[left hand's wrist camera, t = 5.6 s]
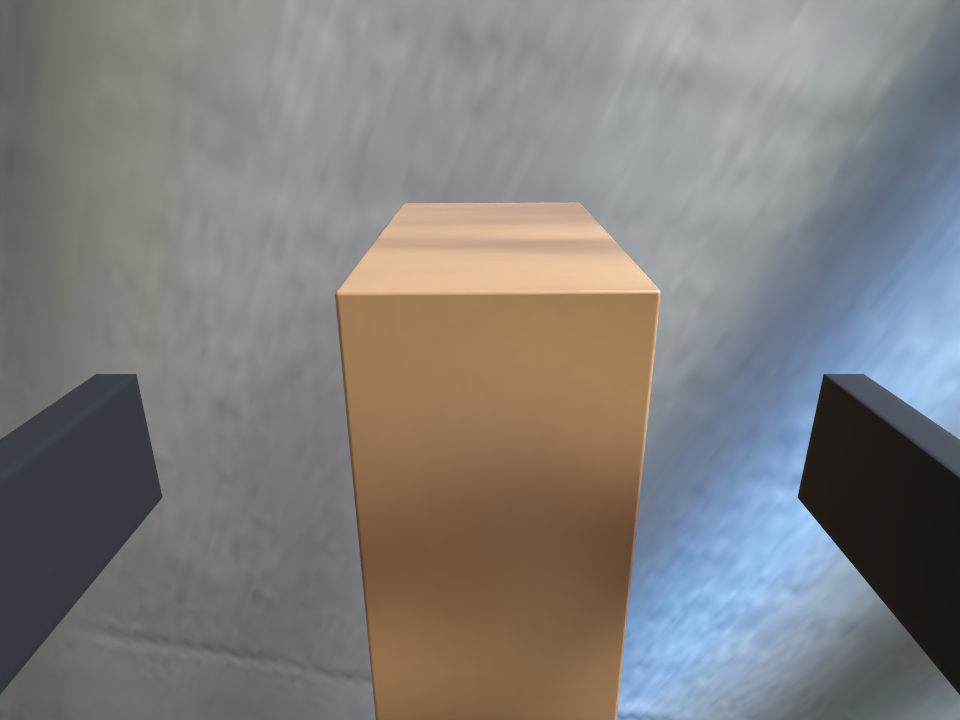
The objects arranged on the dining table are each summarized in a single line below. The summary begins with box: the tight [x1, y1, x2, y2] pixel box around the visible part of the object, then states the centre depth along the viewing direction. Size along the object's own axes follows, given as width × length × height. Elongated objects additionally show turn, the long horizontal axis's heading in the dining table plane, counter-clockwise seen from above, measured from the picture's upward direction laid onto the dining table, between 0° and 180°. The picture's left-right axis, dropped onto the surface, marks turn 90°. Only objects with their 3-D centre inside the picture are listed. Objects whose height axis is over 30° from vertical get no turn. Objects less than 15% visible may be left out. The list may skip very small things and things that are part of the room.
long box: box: [335, 202, 661, 720], centre depth 21 cm, size 26×6×11 cm, turn 0°
